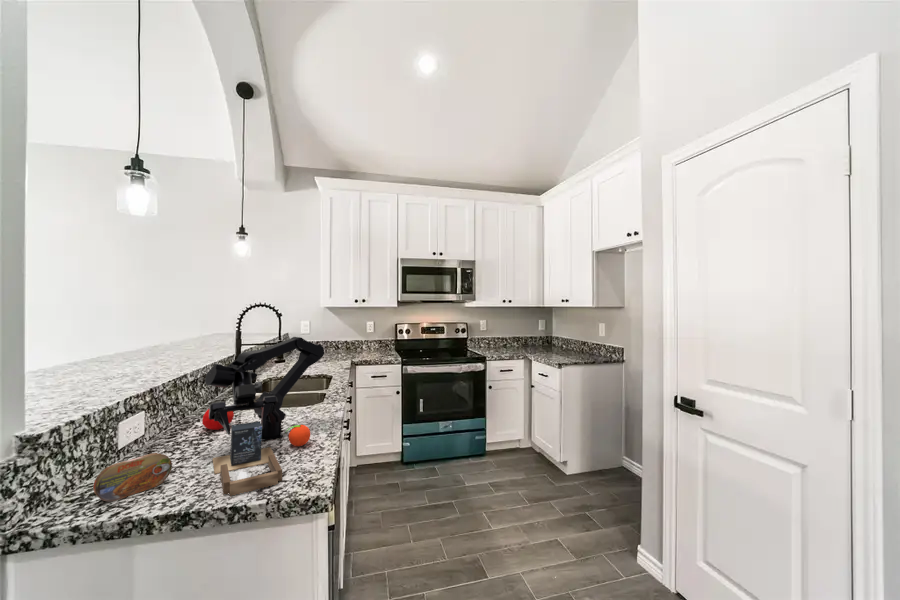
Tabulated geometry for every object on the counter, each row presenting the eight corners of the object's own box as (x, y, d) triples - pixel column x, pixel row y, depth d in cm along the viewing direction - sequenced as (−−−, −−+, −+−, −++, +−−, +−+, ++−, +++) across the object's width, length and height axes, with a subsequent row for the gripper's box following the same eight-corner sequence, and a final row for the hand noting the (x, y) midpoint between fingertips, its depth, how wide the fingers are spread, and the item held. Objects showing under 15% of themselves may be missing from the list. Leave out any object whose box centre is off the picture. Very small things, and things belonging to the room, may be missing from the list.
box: (231, 466, 105) (232, 430, 105) (229, 459, 109) (231, 424, 110) (261, 460, 109) (262, 425, 109) (258, 454, 114) (260, 420, 114)
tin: (95, 508, 83) (96, 471, 83) (90, 503, 85) (92, 467, 85) (172, 481, 96) (173, 450, 96) (167, 478, 98) (168, 447, 98)
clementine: (284, 451, 117) (284, 429, 117) (285, 443, 124) (285, 422, 124) (310, 448, 120) (311, 426, 120) (310, 440, 126) (310, 420, 127)
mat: (270, 447, 120) (270, 447, 120) (277, 461, 110) (277, 460, 110) (212, 459, 110) (212, 458, 110) (214, 474, 100) (214, 473, 100)
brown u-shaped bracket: (273, 464, 107) (274, 454, 107) (283, 483, 96) (283, 471, 97) (220, 476, 100) (220, 465, 100) (223, 497, 89) (224, 485, 89)
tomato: (197, 429, 135) (197, 407, 135) (225, 422, 144) (226, 401, 144) (209, 434, 130) (210, 411, 130) (238, 426, 139) (239, 405, 139)
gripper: (211, 376, 109) (212, 422, 100) (277, 371, 121) (284, 412, 112) (208, 396, 116) (209, 442, 107) (271, 390, 127) (277, 430, 118)
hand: (246, 431), depth 111 cm, fingers open, 9 cm apart
